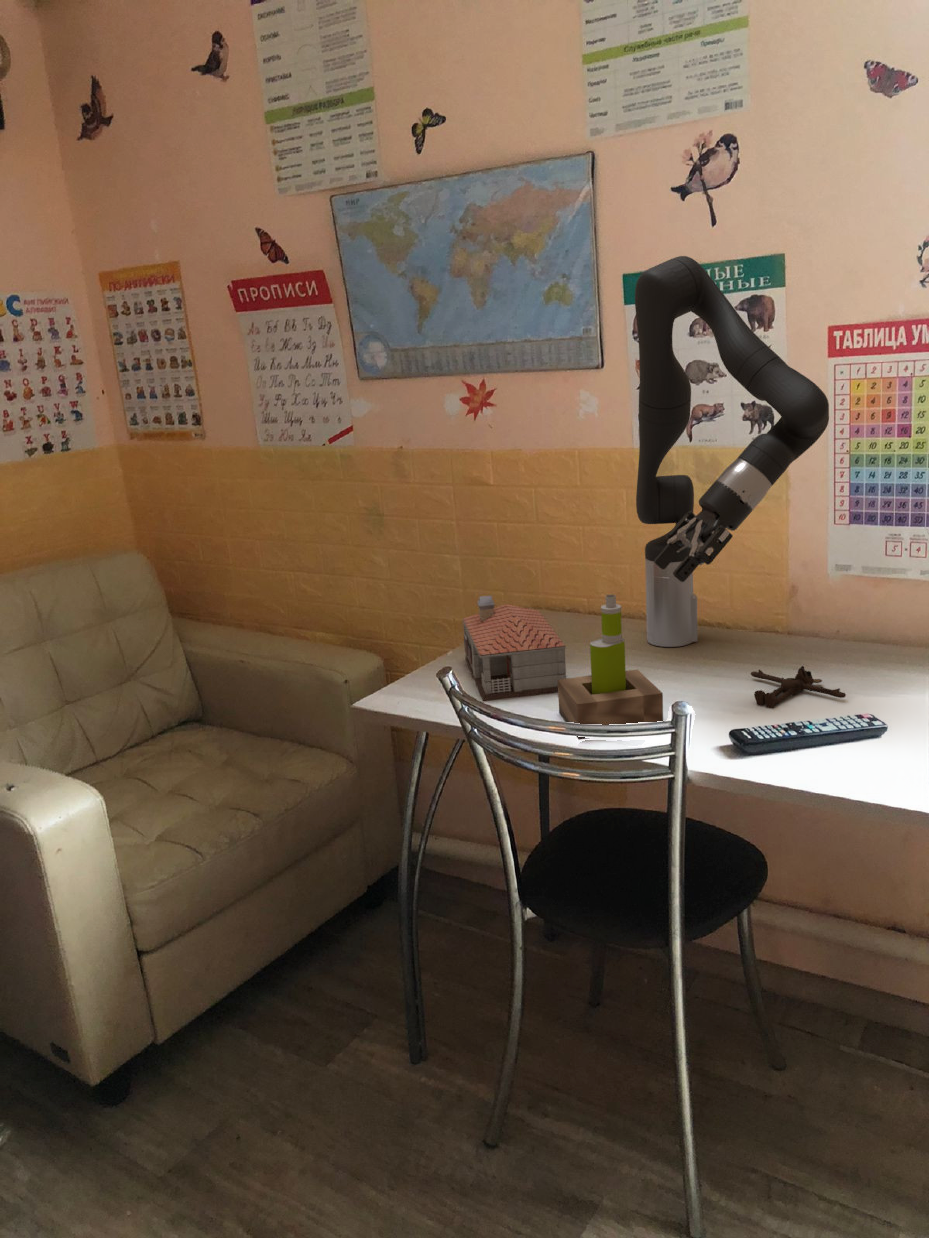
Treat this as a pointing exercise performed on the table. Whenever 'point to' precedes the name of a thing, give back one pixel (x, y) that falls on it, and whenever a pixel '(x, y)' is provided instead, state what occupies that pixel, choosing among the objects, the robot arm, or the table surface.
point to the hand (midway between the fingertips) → (667, 572)
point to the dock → (610, 701)
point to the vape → (609, 652)
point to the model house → (512, 652)
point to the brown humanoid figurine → (790, 688)
